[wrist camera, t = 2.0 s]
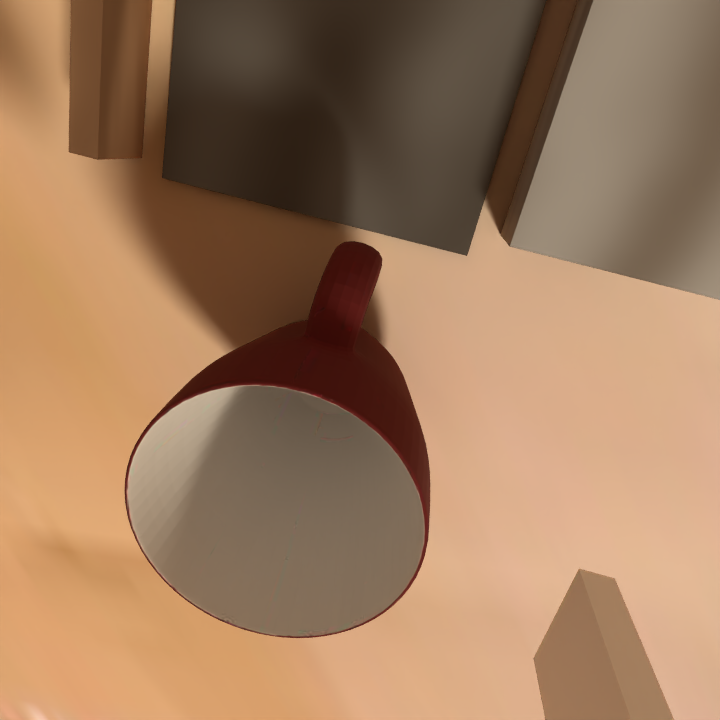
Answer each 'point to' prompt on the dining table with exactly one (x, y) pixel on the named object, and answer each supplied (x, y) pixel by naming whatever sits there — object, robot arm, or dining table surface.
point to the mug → (290, 473)
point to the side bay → (431, 119)
